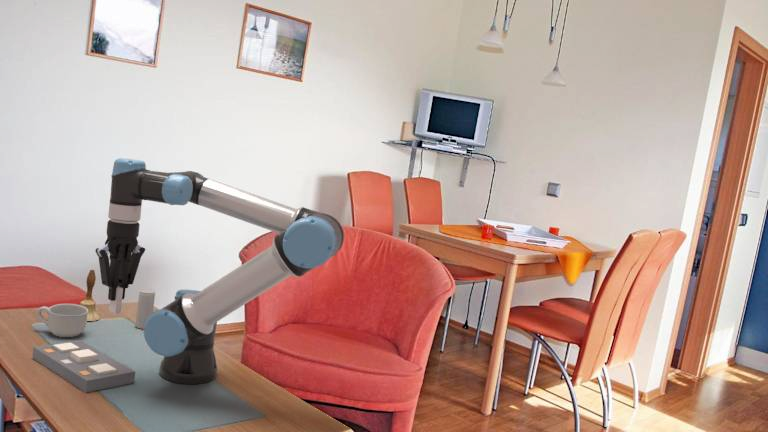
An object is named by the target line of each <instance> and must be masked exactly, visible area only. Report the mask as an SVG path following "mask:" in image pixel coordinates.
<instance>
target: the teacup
mask: <svg viewBox="0 0 768 432" xmlns="http://www.w3.org/2000/svg"><path fill="white" fill-rule="evenodd" d="M42 311H45V312H46V314H47V319H46V318H45V317H44V316H43V315H42ZM87 313H88V309H87V308H86V307H84V306H81V305H80V304H77V303H58V304H54V305H50V306H49V307H48V306H45V305H43V306H41V307H39V308H38V309H37V312H36V316H37V318H38V319H39V320H40V321H41V322H42V323H44V325H46V327H47V329H48V331H49V332H50V333H51V334H53V336H55V335H56V336H55V337H57V336H59V337H58V338H62V337H71V338H74V336H75V337H77V336H79V335H80V334H81V333H83V332H84V330H85V329H86V327H87V323H88V322H87Z"/></svg>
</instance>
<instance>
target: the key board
mask: <svg viewBox="0 0 768 432" xmlns="http://www.w3.org/2000/svg"><path fill="white" fill-rule="evenodd" d="M70 342H71V343H72V344H74V345H76V346H78V347H79V348H80V349H79V350H85V349H89V350H91V351H93V352H94V353H96V354H98V358H97V361H94V362H88V363H82V364H78V363H77V362H75V361H73V360H72V359H70V353H71V352H66V353H60V352H59V351H57V350H55V349H54V348H53V345H56V344H63V343H64V342H60V343H59V342H58V343H52V344H47V345H38V346H33V348H32V359H33V360H35V361H37V362H38V363H39V364H40V365H42V366H44V367H46V368H47V369H48V370H50V371H51V372H54V373H55V374H56V375H58V376H60V377H61V378H63V379H64V380H65V381H67V382H69V383H70V384H71V385H73V386H75V387H76V388H77V389H79V390H81V391H82V392H84V393H85V394H87V393H90V392H95V391H100V390H105V389H110V388H115V387H120V386H125V385H130V384H134V383H135V378H136V377H135V376H136V371H135V370H133V369H132V368H131V367H128V366H126V365H124V364H123V363H121V362H120V361H118V360H116V359H114V358H112V357H111V356H109V355H107V354H106V353H103V352H102V351H100V350H98V349H96V348H95V347H93V346H91V345H89V344H88V343H86V342H84V341H83V340H80V339H79V340H75V341H74V340H73V341H68V342H65V343H70ZM104 363H107V364H108V365H110V366H112V367H114V368H115V369H116V372H114V373H109V374H103V375H96V374H95V373H93V372H91V371H90V370H88V366H93V365H99V364H104Z"/></svg>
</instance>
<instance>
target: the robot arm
mask: <svg viewBox="0 0 768 432" xmlns="http://www.w3.org/2000/svg"><path fill="white" fill-rule="evenodd" d="M146 164H147V163H146V162H145V161H144V160H140V159H132V158H122V157H121V158H116V159H115V160H114V162H113V167H112V174H111V184H110V185H111V187H110V198H109V206H108V215H107V217H108V219H109V220H107V222H106V225H107V226H106V236H107V239H106V240H105V241H104V245H102V247H100V248H99V247H97V248H96V249H95V253H96V255H97V257H98V263H99V270H100V278H101V284H102V285H103V286H106V287H108V294H107V296H108V297H107V299H108V300H109V308H108V312H110V313H112V314H115V315H117V314H118V315H119V314H121V313H122V306H123V305H122V302H123V300H124V299H125V296H126V289H128V288H129V285H133V284H134V281H135V277H136V274H137V272H138V268H139V265H140V262H141V259H142V258H141V257H142V256H143V255H144V253H145V251H146V248H145V247H143V246H141V245H139V242H138V237H139V235H140V222H139V221H140V220H141V216H142V203H143V201H150V202H155V203H157V202H158V203H162V204H168V205H171V206H185V205H187V204H188V203H192V204H194V205H198V206H201V207H203V208H207V209H209V210H212V211H215V212H218V213H221V214H223V215H226V216H228V217H231V218H235V219H238V220H240V221H244V222H246V223H248V224H252V225H253V226H254V225H255V226H257V227H260V228H263V229H264V230H265V229H266V230H268V231H271V232H274V233H277V235H275V236H274V237H273V240H272V245H271V246H270V247H268V248H266V249H265V250H263V251H261V252H260V253H258V254H256V255H255V256H254V257H252V258H251V259H248V260H247V261H245V263H244V262H243V264H241V265H240V266H238V267H236V268H235V269H233V270H232V271H230V272H229V273H227V274H225V275H224V276H222V277H221V278H219V279H217V280H216V281H215V282H212V283H211V284H210V285H208V286H206V287H204V288H203V289H202V290H197V289H196V290H195V289H179V290H177V291H176V292H175V296H174V300H173V301H171V302H170V303H168V304H167V305H165V306H164V307H162V308H161V309H157V310H154V311H153V313H152V314H151V315H150V316H149V317H148V319H147V320H146V322H145V325H144V329H143V338H144V340H145V343H146V345H147V346H148V347H149V349H150V350H151V351H152V352H153V353H155V354H157V355H159V356H163V359H162V360H161V361H160V364H159V371H158V373H159V376H160V377H162V378H163V379H165V380H167V381H170V382H172V383H178V384H183V385H184V384H186V385H198V384H205V383H209V382H211V381H213V380H214V379H216V378H217V374H218V373H217V372H218V365H217V361H216V354H215V349H214V347H215V346H214V345H215V340H216V339H215V338H216V332H217V324H218V322H220V320H222V319H223V318H225V317H227V316H229V315H230V314H232V313H233V312H235V311H237V310H238V309H240V308H241V307H243V306H245V305H246V304H247V303H249V302H251V301H252V300H254V299H256V298H258V297H259V296H261V295H263V293H265V292H267V291H269V290H270V289H272V288H273V287H274V286H276V285H278V284H280V283H281V282H283V281H284V280H286V279H287V278H289V277H290V276H291V277H292V276H293V277H295V278H300V277H303V276H304V275H306V274H307V273H309V272H311V271H312V270H314V269H315V268H317V267H320V266H323V265H324V264H325V263H327V262H328V261H329V260H330V259H331V258H332V257H333V256H335V255H336V254H337V253H339V251H340V250H341V248H342V246H343V244H344V241H345V240H344V239H345V233H344V229H343V226H342V224H341V222H340V221H339V220H338V219H337V218H336V217H334V216H332V215H330V214H328V213H325V212H320V211H317V210H316V211H315V210H313V209H310V208H306V207H303V206H301V207H299V208H294V207H291V206H289V205H286V204H283V203H280V202H278V201H274V200H271V199H269V198H266V197H263V196H260V195H257V194H254V193H251V192H248V191H246V190H242V189H240V188H237V187H234V186H231V185H228V184H226V183H222V182H219V181H216V180H214V179H210V178H207V177H205V176H204V175H203V174H201V173H199V172H196V171H191V170H188V171H180V172H176V171H175V172H166V171H165V172H162V171H157V170H155V171H154V170H150V169H147V166H146Z"/></svg>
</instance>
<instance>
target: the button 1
mask: <svg viewBox="0 0 768 432" xmlns="http://www.w3.org/2000/svg"><path fill="white" fill-rule="evenodd" d="M69 342H70V343H66V342H62V343H63V344H58V343H55V344H56V345H53V348H54V349H55V350H57V351H59V352H60V353H66V352H72V351H78V350H79V349H80V348H79V347H78V346H76V345H74V344H72V343H71V342H72V341H69Z"/></svg>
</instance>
